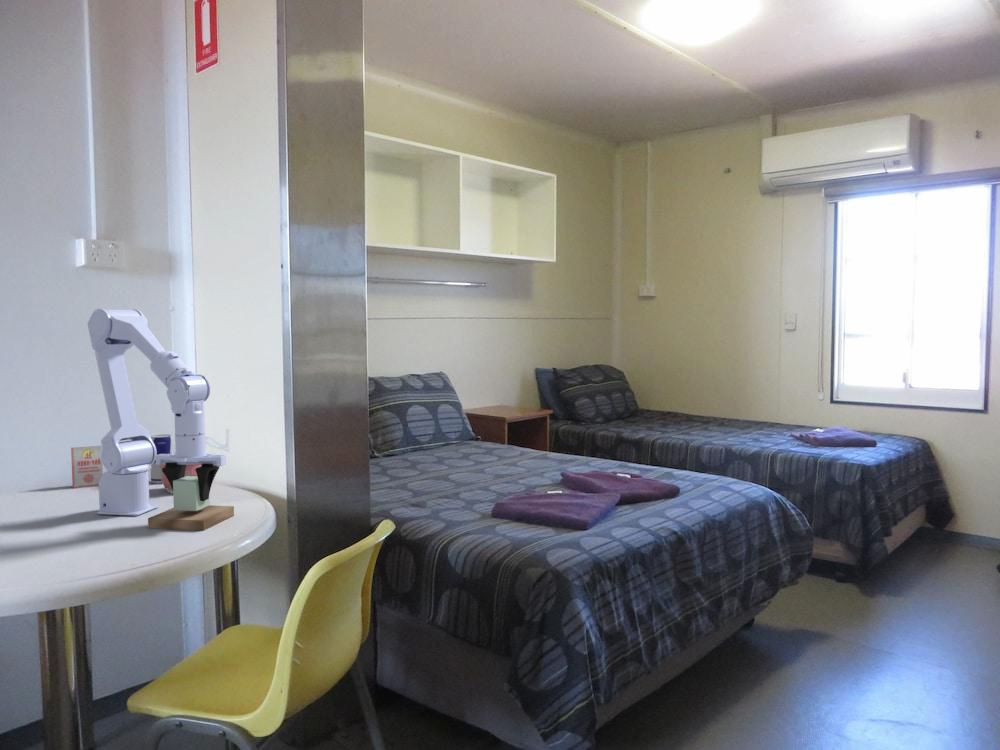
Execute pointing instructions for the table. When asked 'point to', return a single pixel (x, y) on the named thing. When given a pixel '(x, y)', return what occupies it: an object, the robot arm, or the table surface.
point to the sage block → (188, 494)
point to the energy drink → (162, 447)
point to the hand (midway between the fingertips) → (191, 499)
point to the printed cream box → (86, 466)
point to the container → (188, 472)
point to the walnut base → (191, 518)
